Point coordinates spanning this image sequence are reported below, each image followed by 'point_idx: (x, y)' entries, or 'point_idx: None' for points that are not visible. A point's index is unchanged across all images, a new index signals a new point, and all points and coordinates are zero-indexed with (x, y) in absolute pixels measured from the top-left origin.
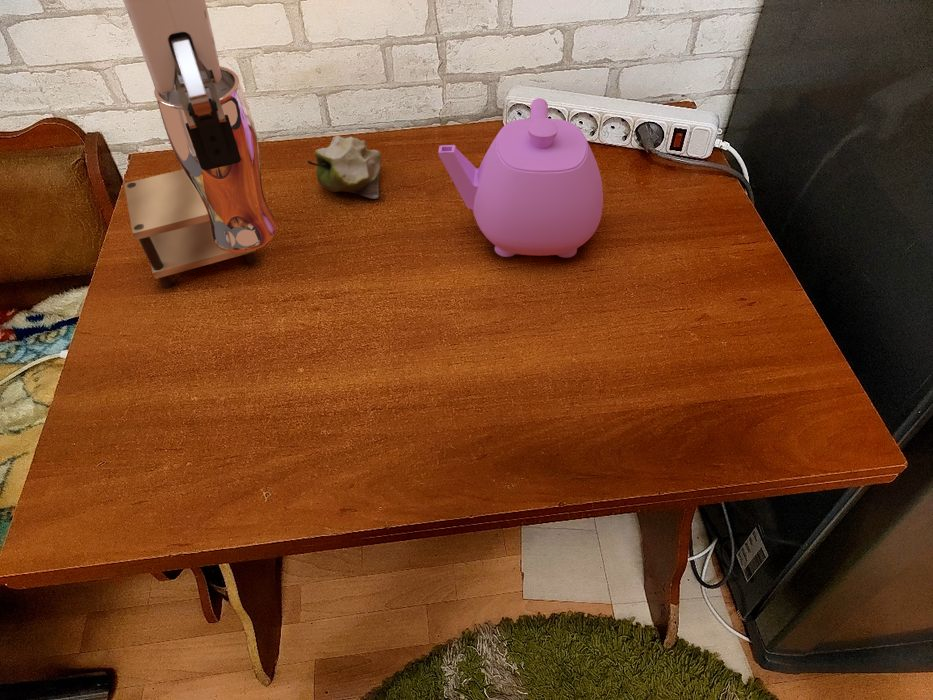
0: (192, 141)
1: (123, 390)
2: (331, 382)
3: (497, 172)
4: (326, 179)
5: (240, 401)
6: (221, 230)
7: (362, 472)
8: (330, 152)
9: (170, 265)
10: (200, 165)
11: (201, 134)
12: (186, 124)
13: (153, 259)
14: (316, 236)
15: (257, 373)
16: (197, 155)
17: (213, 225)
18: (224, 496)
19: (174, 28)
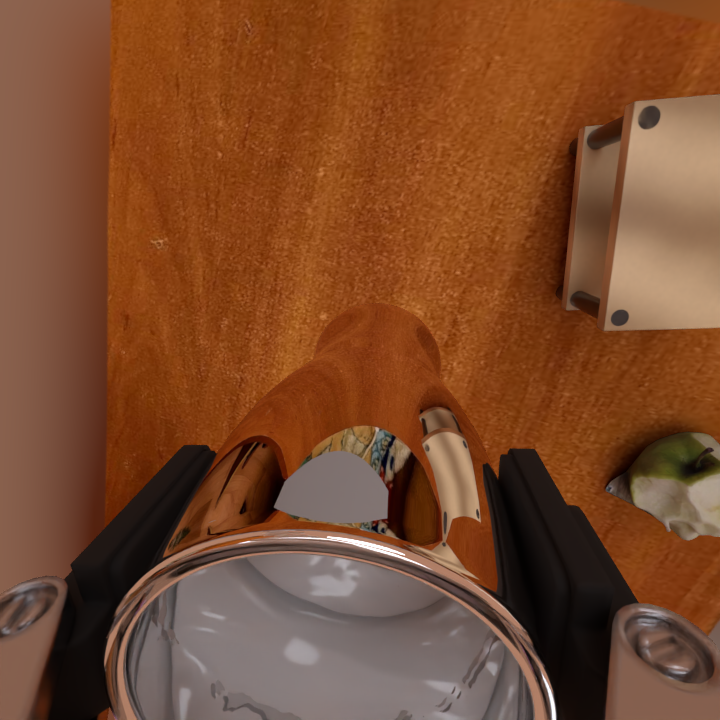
0: (120, 514)
1: (370, 61)
2: (292, 346)
3: None
4: (670, 450)
5: (297, 233)
6: (326, 340)
7: (165, 346)
8: (714, 487)
9: (588, 162)
10: (180, 450)
11: (69, 580)
12: (87, 568)
13: (598, 134)
14: (570, 391)
15: (336, 262)
16: (159, 474)
17: (345, 328)
18: (165, 194)
19: None
